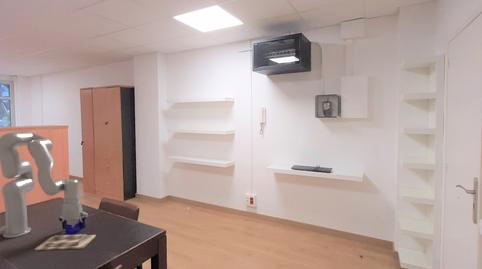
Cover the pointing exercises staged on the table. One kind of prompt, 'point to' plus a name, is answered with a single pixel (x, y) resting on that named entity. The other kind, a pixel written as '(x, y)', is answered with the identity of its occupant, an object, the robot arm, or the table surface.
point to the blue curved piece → (73, 228)
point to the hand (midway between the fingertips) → (73, 228)
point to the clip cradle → (66, 242)
